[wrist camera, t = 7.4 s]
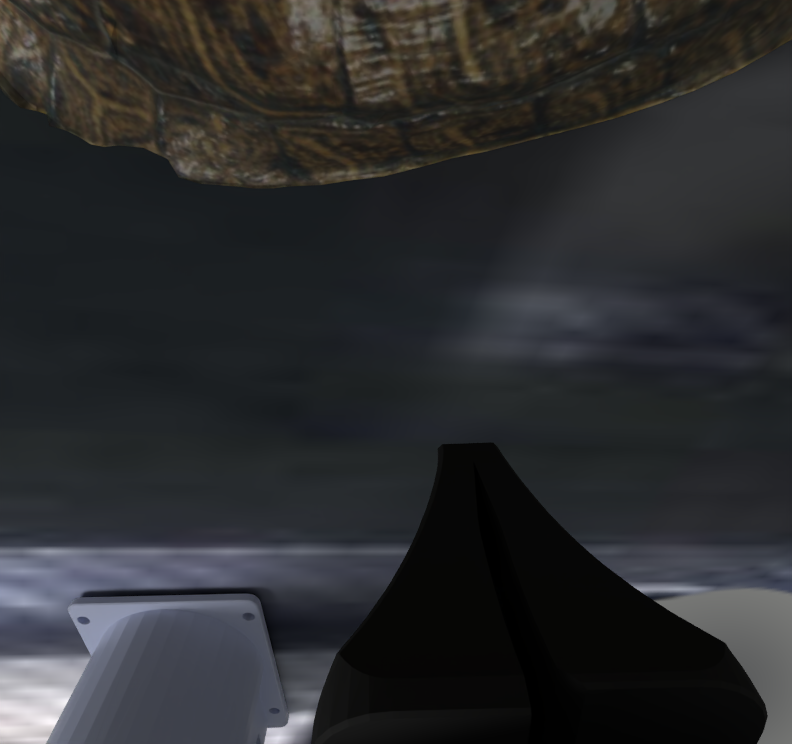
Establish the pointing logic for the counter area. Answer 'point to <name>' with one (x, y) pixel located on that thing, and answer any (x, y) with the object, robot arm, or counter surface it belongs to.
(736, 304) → the counter surface
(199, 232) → the counter surface
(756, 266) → the counter surface
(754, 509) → the counter surface
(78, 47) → the turtle shell
